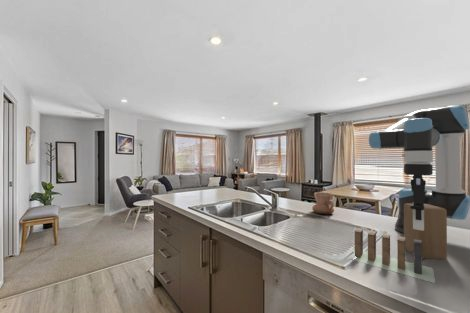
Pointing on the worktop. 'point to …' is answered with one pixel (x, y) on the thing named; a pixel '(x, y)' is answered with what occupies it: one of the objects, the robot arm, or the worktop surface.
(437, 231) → the block
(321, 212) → the ceramic jug
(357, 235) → the domino end
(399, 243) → the domino
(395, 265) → the mat
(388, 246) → the domino
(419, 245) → the dark gray domino
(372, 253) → the domino
